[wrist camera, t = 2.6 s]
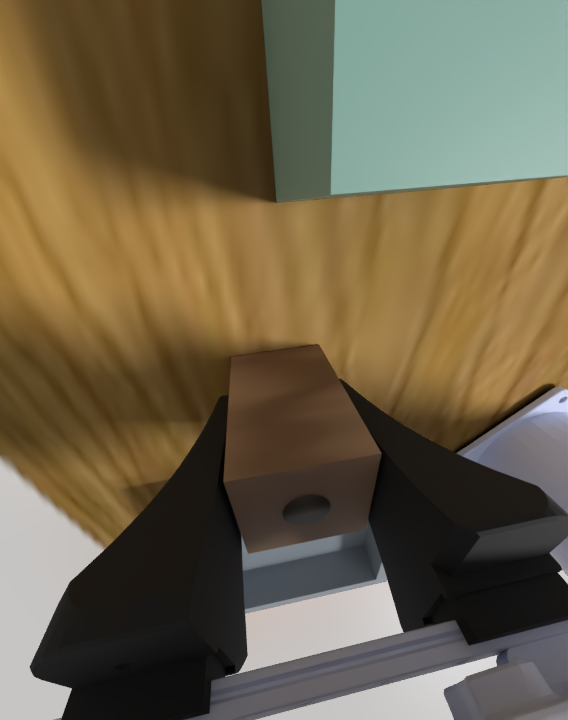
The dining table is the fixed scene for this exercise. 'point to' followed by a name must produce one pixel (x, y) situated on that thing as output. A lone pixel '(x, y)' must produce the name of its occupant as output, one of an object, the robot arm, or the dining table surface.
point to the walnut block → (295, 450)
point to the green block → (415, 94)
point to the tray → (310, 569)
